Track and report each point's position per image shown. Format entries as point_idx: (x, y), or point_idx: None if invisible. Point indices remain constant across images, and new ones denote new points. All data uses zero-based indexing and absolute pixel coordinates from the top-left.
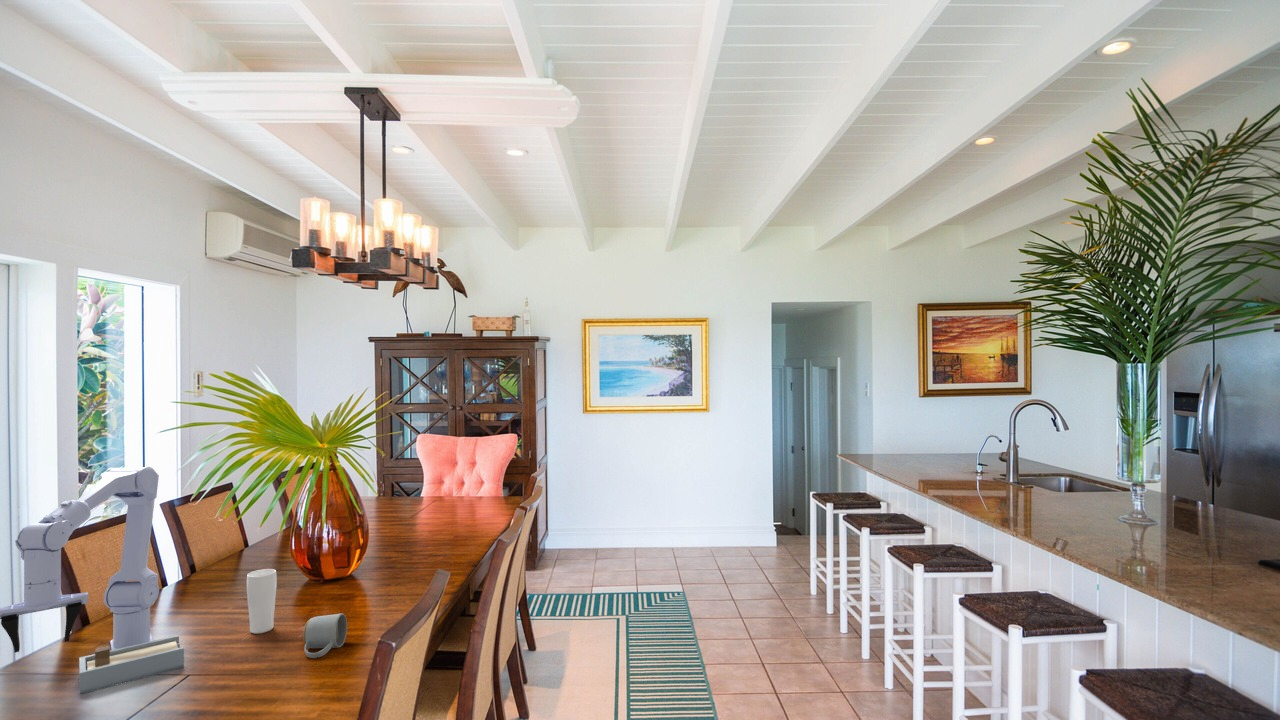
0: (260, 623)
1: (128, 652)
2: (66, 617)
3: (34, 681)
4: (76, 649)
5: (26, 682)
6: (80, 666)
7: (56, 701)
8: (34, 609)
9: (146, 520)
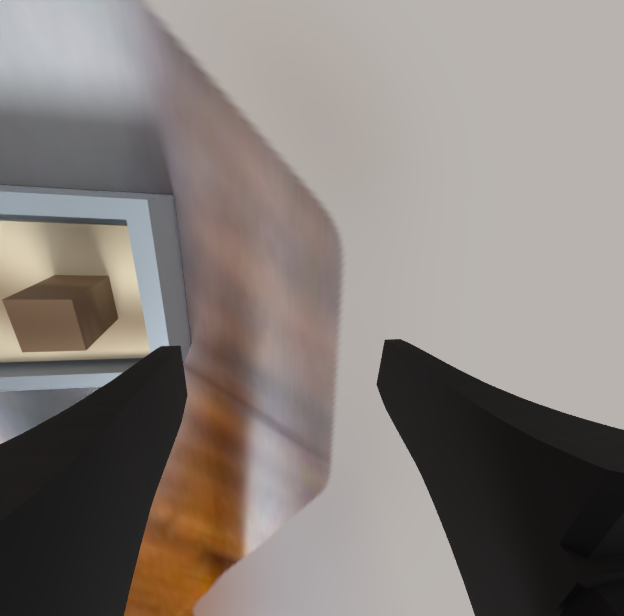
0: None
1: (3, 354)
2: (49, 475)
3: (291, 389)
4: (214, 518)
5: (306, 393)
6: (157, 287)
7: (237, 189)
8: None
9: None
